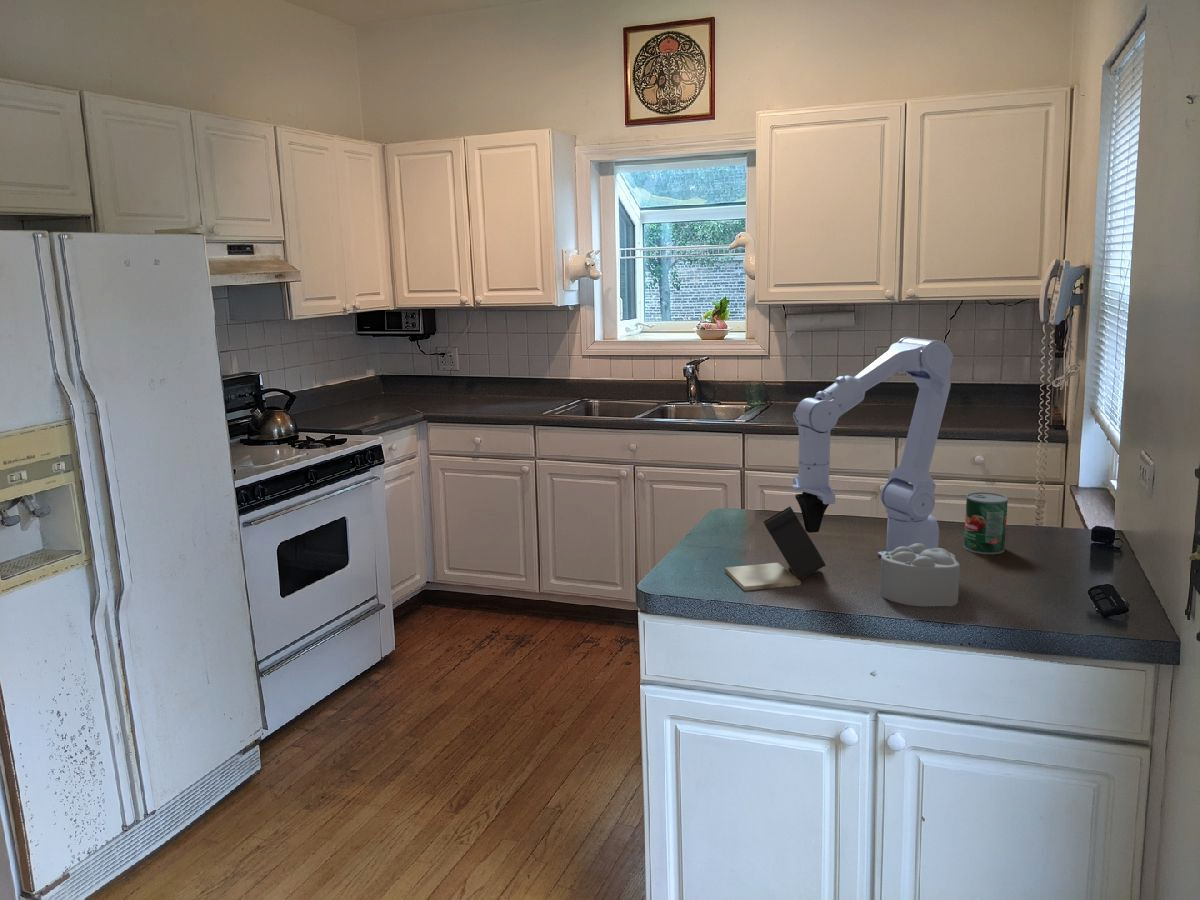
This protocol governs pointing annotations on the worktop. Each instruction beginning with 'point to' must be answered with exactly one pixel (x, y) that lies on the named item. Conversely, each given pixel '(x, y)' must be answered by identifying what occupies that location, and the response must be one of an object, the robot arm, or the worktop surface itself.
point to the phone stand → (794, 543)
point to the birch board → (761, 576)
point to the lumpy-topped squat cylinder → (920, 576)
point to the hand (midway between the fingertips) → (812, 531)
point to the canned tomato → (985, 523)
